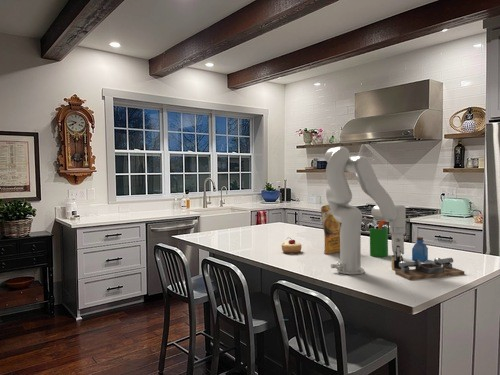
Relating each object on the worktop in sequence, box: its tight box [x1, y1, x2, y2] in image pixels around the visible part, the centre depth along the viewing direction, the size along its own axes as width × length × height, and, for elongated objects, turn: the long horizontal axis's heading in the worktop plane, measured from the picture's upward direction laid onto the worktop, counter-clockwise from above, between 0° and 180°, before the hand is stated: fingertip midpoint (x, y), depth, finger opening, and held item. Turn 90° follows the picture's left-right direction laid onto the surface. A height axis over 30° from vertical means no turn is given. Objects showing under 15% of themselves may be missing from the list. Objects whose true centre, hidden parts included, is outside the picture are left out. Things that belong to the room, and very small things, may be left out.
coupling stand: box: [394, 262, 465, 281], centre depth 177 cm, size 29×10×4 cm, turn 104°
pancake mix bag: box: [320, 204, 341, 255], centre depth 228 cm, size 7×19×28 cm, turn 132°
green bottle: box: [369, 220, 389, 258], centre depth 217 cm, size 10×9×20 cm
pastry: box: [280, 237, 302, 254], centre depth 230 cm, size 12×12×9 cm
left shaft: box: [399, 260, 422, 273], centre depth 177 cm, size 9×4×7 cm, turn 94°
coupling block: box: [390, 254, 404, 271], centre depth 188 cm, size 5×5×7 cm
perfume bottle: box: [411, 236, 429, 263], centre depth 205 cm, size 6×6×12 cm
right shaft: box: [433, 257, 454, 269], centre depth 181 cm, size 9×4×7 cm, turn 114°
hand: (397, 266), depth 188 cm, fingers closed on coupling block, 5 cm apart
